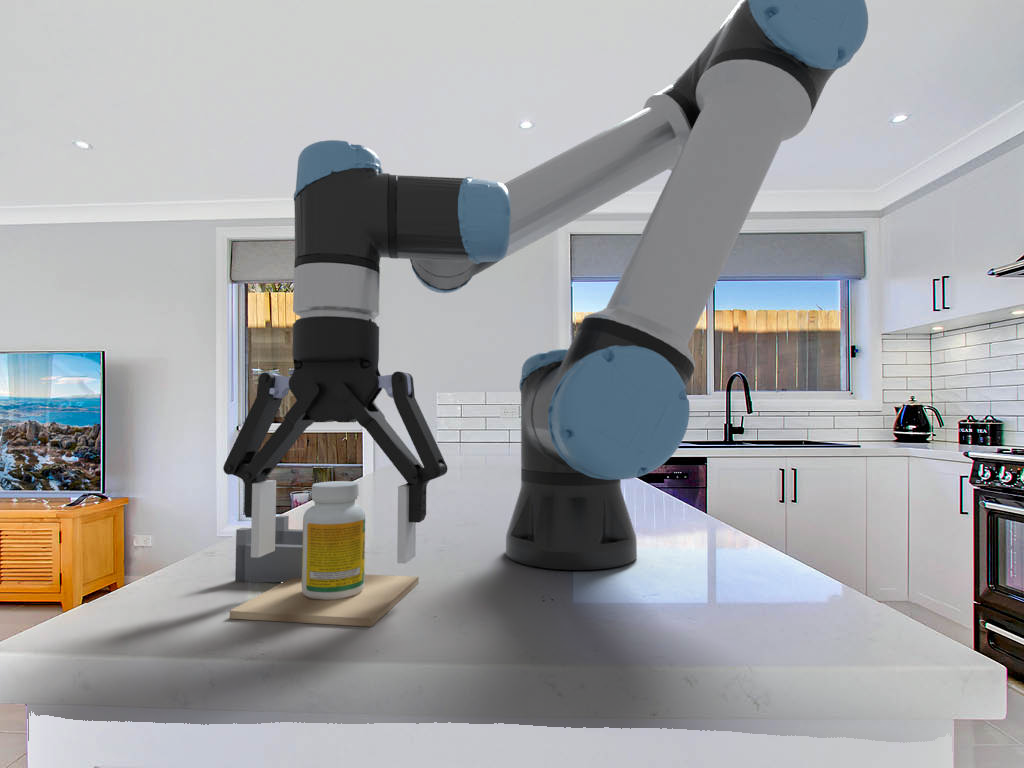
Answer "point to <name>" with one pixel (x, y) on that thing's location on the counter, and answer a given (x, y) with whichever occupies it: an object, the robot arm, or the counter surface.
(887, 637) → the counter surface
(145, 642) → the counter surface
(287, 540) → the holder
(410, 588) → the square wooden board
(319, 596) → the supplement bottle
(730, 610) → the counter surface
